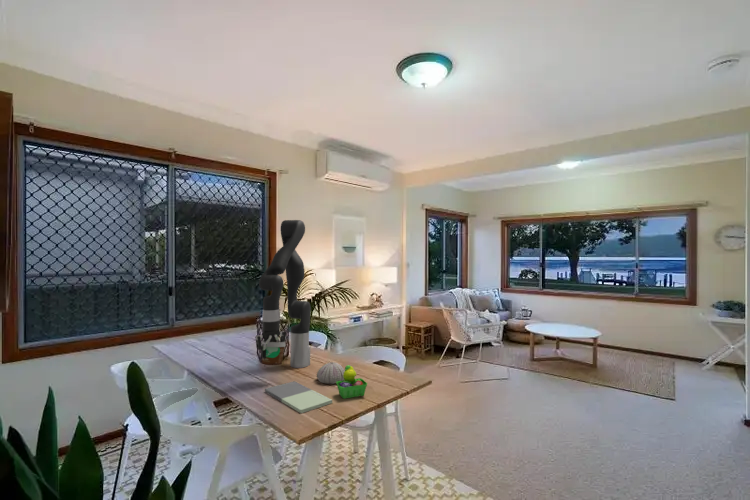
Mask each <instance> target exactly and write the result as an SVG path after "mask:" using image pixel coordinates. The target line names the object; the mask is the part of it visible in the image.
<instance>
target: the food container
mask: <svg viewBox="0 0 750 500" xmlns="http://www.w3.org/2000/svg"><path fill="white" fill-rule="evenodd" d="M263 340H264V339H262V340H261V345H262V342H263ZM264 343H266V341H264ZM263 346H264V344H263ZM286 346H287V345H286V341H285V342H268V344H267V345H266V349H265V350H266V358H265V359H263V358H262V357H261V364H262V365H264V366H265V365H266V366H279V365H282V363H283V359H284V358H283V357H284V352H285V351H284V350H285V347H286Z"/></svg>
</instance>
